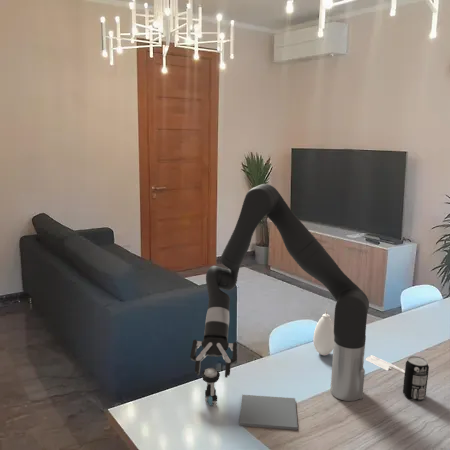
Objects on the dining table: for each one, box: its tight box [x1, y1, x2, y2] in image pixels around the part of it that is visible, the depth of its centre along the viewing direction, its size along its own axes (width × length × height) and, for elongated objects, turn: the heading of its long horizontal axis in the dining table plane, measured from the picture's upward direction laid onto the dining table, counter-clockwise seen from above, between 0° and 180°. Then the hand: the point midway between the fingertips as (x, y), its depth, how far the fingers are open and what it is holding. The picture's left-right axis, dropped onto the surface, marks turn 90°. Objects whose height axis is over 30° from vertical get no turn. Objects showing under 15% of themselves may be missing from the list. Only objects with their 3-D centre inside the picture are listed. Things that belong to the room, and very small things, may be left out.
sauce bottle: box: [312, 307, 334, 356], centre depth 168 cm, size 8×8×18 cm
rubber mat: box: [238, 394, 299, 431], centre depth 135 cm, size 16×14×1 cm
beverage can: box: [402, 355, 430, 402], centre depth 143 cm, size 7×7×12 cm
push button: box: [201, 367, 221, 408], centre depth 138 cm, size 7×5×10 cm
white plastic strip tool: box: [364, 354, 405, 375], centre depth 162 cm, size 5×15×1 cm, turn 36°
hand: (212, 375), depth 139 cm, fingers open, 8 cm apart
